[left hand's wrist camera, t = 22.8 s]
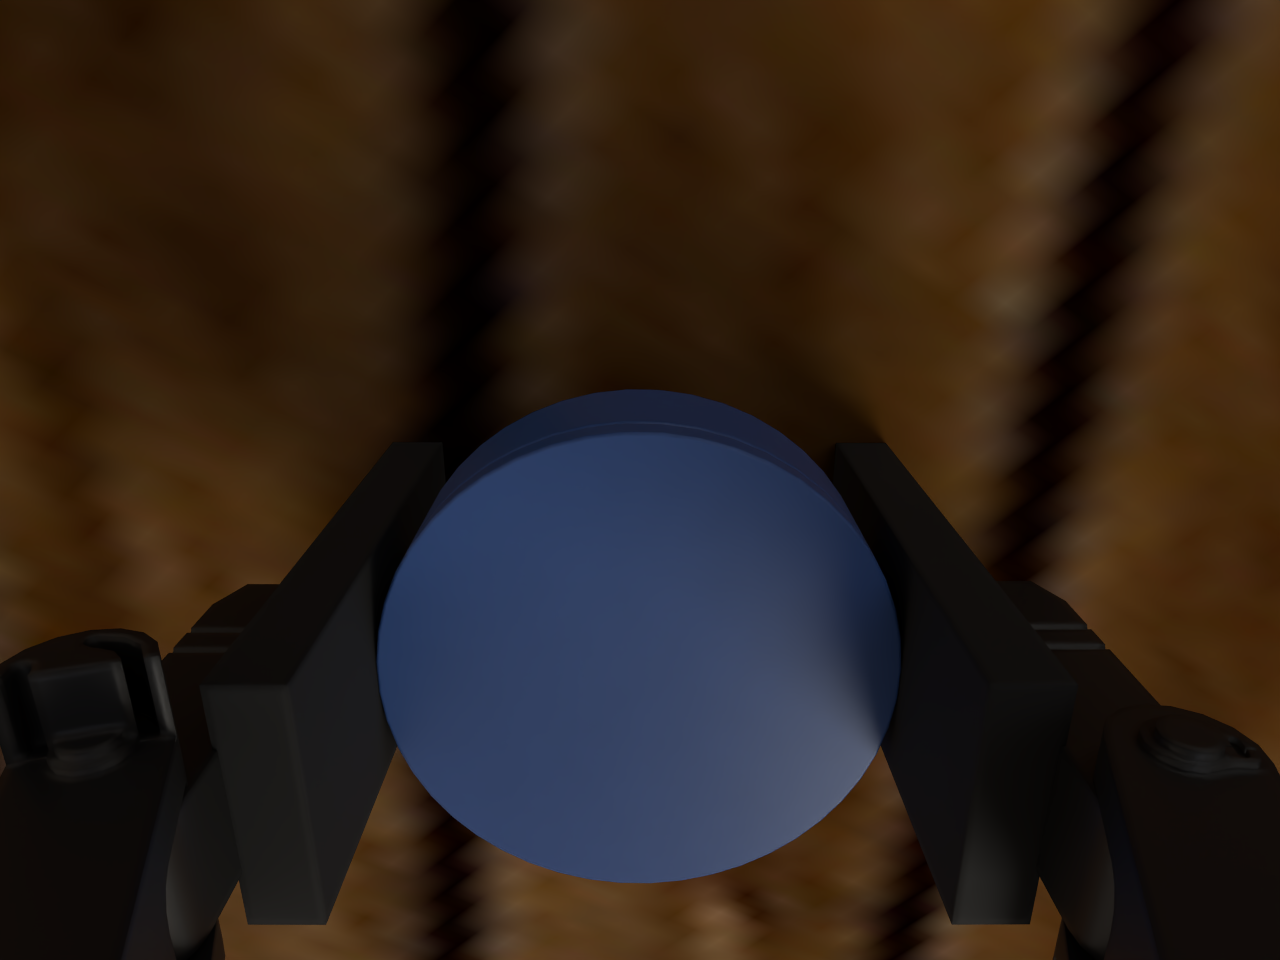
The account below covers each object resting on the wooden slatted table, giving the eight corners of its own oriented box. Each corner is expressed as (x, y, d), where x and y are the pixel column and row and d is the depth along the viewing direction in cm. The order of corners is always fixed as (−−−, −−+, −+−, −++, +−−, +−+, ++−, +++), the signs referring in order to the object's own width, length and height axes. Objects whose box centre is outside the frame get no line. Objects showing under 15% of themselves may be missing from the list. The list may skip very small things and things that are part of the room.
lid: (761, 304, 11) (783, 335, 9) (929, 699, 13) (972, 783, 11) (322, 507, 12) (271, 569, 10) (542, 846, 13) (528, 944, 12)
